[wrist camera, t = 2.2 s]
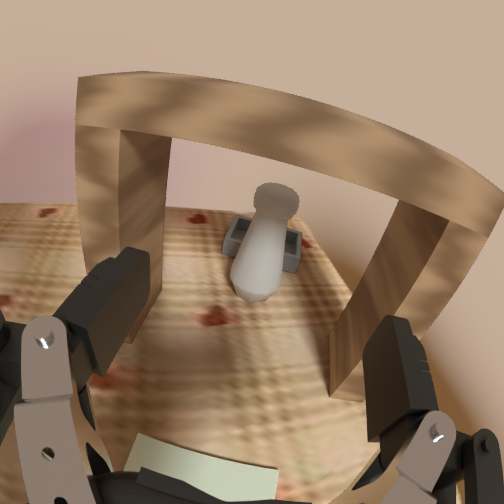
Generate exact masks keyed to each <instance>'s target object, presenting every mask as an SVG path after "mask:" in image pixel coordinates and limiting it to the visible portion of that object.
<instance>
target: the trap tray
mask: <svg viewBox="0 0 504 504" xmlns="http://www.w3.org/2000/svg"><path fill="white" fill-rule="evenodd" d="M251 222H252V219H251V218H247V217H244V216H240V215H236V216H235V218H234V220H233V222H232V224H231V226H230V228H229V230H228V232H227V234H226V236H225V239H224V244H223V249H222V254H225V255H229V256H232V257H236V255H237V253H238V250H239V248H240V246H241V244H242V241H243V239H244V237H245V235H246V233H247V230H248V228H249V226H250V224H251ZM301 242H302V232H299V231H295V230H292V229H288V228H287V230H286V239H285V247H284V258H283V269H282V270H284V271H288V272H291V273H296V270H297V268H298V265H299V262H300V260H301Z"/></svg>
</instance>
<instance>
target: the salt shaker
mask: <svg viewBox="0 0 504 504" xmlns="http://www.w3.org/2000/svg"><path fill="white" fill-rule="evenodd" d="M254 207H255V208H256V210H257V211H256V213H255V215H254V217H253V219H252V222H251V224H250V226H249V228H248V230H247V233H246V235H245V237H244V239H243V241H242V244H241V246H240V248H239V250H238V253H237V255H236V257H235V259H234V262H233V264H232V266H231V272H230V278H231V281H232V283H233V285H234V288H235V291H236V296H238V297H240V298H242V299H243V300H245V301H247V302H249V303H256V302H262V301H266V300H267V299H268V298H269V297H270V296H271V295H272V294H274V293H275V291H276V290H277V289H278V287H279V286H280V284H281V279H282V269H283V258H284V247H285V239H286V230H287V221H288V219H291V218H292V217H293V216H294V215H295V214H296V212H297V210H298V207H299V196H298V195H297V193H296V192H295V191H294V190H293V189H291V188H289V187H287V186H285V185H282V184H277V183H264V184H262V185H261V186H259V187H258V188H257V190H256V192H255V196H254Z"/></svg>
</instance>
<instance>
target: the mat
mask: <svg viewBox="0 0 504 504" xmlns="http://www.w3.org/2000/svg"><path fill="white" fill-rule="evenodd" d="M141 466H142V467H144V468H147V469H150V470H153V471H155V472H158V473H161V474H164V475H167V476H170V477H173V478H176V479H180V480H183V481H185V482H187V483H188V484H190V485H192V486H194V487H196V488H198V489H200V490H202V491H204V492H206V493H208V494H210V495H212V496H214V497H216V498H218V499H220V500H223V501H229V502H233V501H255V500H268V499H274V500H275V494H276V488H277V482H278V475H279V470H275V469H268V468H262V467H257V466H251V465H246V464H241V463H237V462H232V461H228V460H223V459H219V458H215V457H211V456H208V455H204V454H200V453H197V452H193V451H190V450H186V449H183V448H180V447H177V446H174V445H171V444H168V443H165V442H162V441H159V440H156V439H153V438H151V437H148V436H145V435H143V434H140V433H138V434H137V437H136V439H135V442H134V444H133V447H132V449H131V452H130V454H129V457H128V459H127V462H126V464H125V467H124V470H123V471H134V472H139V471H140V469H141Z"/></svg>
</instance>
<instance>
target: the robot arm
mask: <svg viewBox="0 0 504 504" xmlns="http://www.w3.org/2000/svg"><path fill="white" fill-rule="evenodd" d="M149 294H150V255H149V253H148V252H146V251H143V250H140V249H136V248H133V247H129V246H127V247H125V248H124V249H123V250H122V251H121V253H120V254H119V255H118V256H117V257H116V258H113V257H109V258H107V259H105V260H103V261H101V262H100V263H98V264H96V266H95V267H94V268H93V269H92V270H91V271H90V272H89V273H88V276H86V277H85V278H84V279H83V280H82V281H81V284H79V285H78V286H77V287H76V288H75V289H74V290H73V292H72V293H71V294H70V295H69V296H68V298H67V299H66V300H65V301H64V302H63V303H62V305H61V306H60V307H59V308H58V310H57V311H56V312H55V313H54V314H53V315H52V316H41V317H38V318H35V319H33V320H32V321H31V322H29V323H28V324H27V325H26V324H20V323H14V322H8V321H6V320H5V318H4V316H3V314H2V312H1V310H0V445H1V443H2V441H3V439H4V436H5V434H6V432H7V430H8V428H9V426H10V424H11V421H12V419H13V417H14V422H15V431H16V440H17V447H18V453H19V459H20V465H21V470H22V475H23V480H24V484H25V488H26V492H27V496H28V500H29V503H28V504H312V503H307V502H293V501H283V500H274V499H268V500H255V501H233V502H229V501H223V500H220V499H218V498H216V497H214V496H212V495H210V494H208V493H206V492H204V491H202V490H200V489H198V488H196V487H194V486H192V485H190V484H188V483H187V482H185V481H183V480H180V479H176V478H173V477H170V476H167V475H164V474H161V473H158V472H155V471H153V470H150V469H147V468H144V467H142V466H141V469H140V471H139V472H134V471H115V472H114V470H113V467H112V464H111V461H110V458H109V455H108V452H107V450H106V447H105V445H104V443H103V441H102V438H101V436H100V433H99V429H98V425H97V421H96V417H95V413H94V409H93V404H92V400H91V395H90V390H89V385H88V379H89V377H90V376H91V374H92V372H93V373H95V374H97V375H99V376H101V377H104V375H105V373H106V371H107V370H108V368H109V366H110V364H111V362H112V361H113V359H114V357H115V355H116V354H117V352H118V350H119V348H120V347H121V345H122V343H123V342H124V340H125V338H126V336H127V335H128V333H129V331H130V330H131V328H132V326H133V325H134V323H135V321H136V320H137V318H138V316H139V315H140V313H141V312H142V310H143V308H144V307H145V305H146V303H147V301H148V298H149ZM362 363H363V373H364V385H365V398H366V414H367V436H368V442H380V449H378V450H377V451H376V452H375V454H374V455H373V456H372V458H371V459H370V460H369V462H368V463H367V464H366V466H365V467H364V468H363V469H362V471H361V472H360V473H359V474H358V476H357V477H356V478H355V479H354V481H353V482H352V483H351V484H350V485H349V487H348V488H347V489H346V490H345V491H344V492H343V493H342V494H340V495H339V496H338V497H336V498H335V499H333V500H332V501H331V502H330V503H329V504H456V483H459V482H460V481H462V480H464V482H465V504H504V482H503V471H502V463H501V455H500V448H499V443H498V440H497V438H496V436H495V434H494V433H493V432H491V431H490V430H488V429H481V430H479V431H478V432H476V433H475V434H473V435H472V436H470V435H467V434H464V433H462V432H459V431H456V429H455V425H454V423H453V421H452V420H451V418H450V417H449V416H448V415H447V414H445V413H443V412H441V411H439V409H438V404H437V399H436V395H435V390H434V386H433V381H432V377H431V373H429V371H430V369H429V366H428V363H427V358H426V354H425V351H424V348H423V346H422V344H421V343H420V341H419V340H418V338H417V337H416V336H415V335H413V333H412V330H411V326H410V323H409V321H408V319H406V318H402V317H397V316H393V315H386V316H385V317H384V318H383V319H382V321H381V322H380V324H379V325H378V327H377V328H376V330H375V331H374V333H373V334H372V336H371V337H370V339H369V340H368V342H367V343H366V345H365V347H364V350H363V355H362Z"/></svg>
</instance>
